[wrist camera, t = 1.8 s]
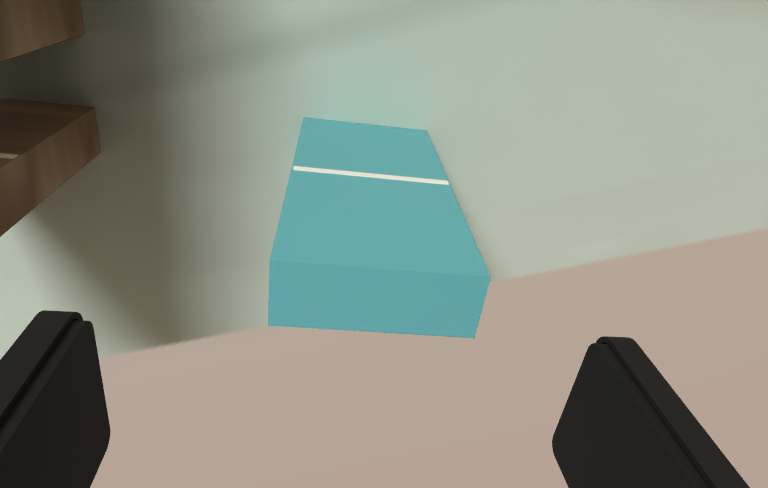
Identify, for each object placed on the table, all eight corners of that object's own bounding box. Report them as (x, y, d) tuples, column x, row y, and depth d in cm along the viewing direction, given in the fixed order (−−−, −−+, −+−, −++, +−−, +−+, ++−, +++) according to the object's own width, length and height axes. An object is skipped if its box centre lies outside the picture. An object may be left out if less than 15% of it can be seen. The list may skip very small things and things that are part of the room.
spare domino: (303, 117, 21) (269, 259, 12) (426, 130, 22) (490, 276, 12) (301, 160, 22) (267, 326, 12) (419, 172, 23) (474, 338, 13)
